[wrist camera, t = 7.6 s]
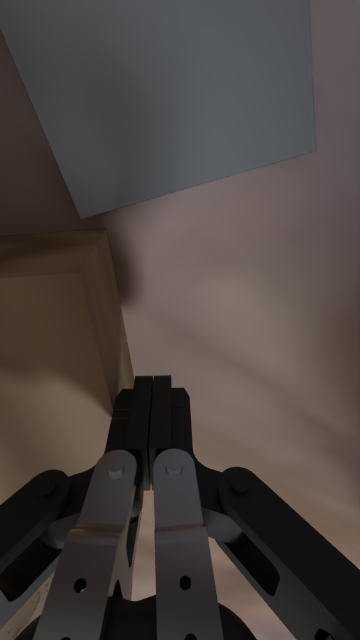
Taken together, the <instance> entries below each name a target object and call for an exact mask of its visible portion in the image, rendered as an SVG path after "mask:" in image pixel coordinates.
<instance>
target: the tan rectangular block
mask: <svg viewBox="0 0 360 640" xmlns="http://www.w3.org/2000/svg"><path fill="white" fill-rule="evenodd" d="M134 381H135V380H134V375H133V369H132V364H131V359H130V353H129V348H128V342H127V337H126V332H125V326H124V321H123V315H122V310H121V305H120V299H119V294H118V288H117V283H116V278H115V272H114V267H113V261H112V256H111V250H110V245H109V240H108V234H107V229H106V228H101V229H88V230H74V231H61V232H48V233H34V234H21V235H7V236H0V505H1V504H2V503H3V502H5V501H6V500H7V499H8V498H9V497H11V496H12V495H13V494H14V493H15V492H17V491H18V490H19V489H20V488H22V487H23V486H24V485H25V484H26V483H28V482H29V481H30V480H31V479H33V478H34V477H35V476H36V475H38V474H40V473H41V472H44V471H47V470H52V469H55V470H61V471H63V472H64V473H66V475H67V476H71V475H74V474H78V473H81V472H84V471H86V470H88V469H90V468H92V467H93V466H95V465H96V463H97V461H98V460H99V459H100V458H101V457H102V456H103V454H104V451H105V447H106V442H107V437H108V432H109V428H110V423H111V419H112V413H113V408H114V403H115V398H116V397H117V395H118V394H119V393H120V392H121V390H122V389H133V388H134Z"/></svg>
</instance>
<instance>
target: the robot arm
mask: <svg viewBox="0 0 360 640" xmlns="http://www.w3.org/2000/svg"><path fill="white" fill-rule="evenodd" d="M151 484H152V490H154V514H155V573H156V595H154V596H151V597H148V598H145V599H142V600H140V601H131V595H132V576H133V567H134V561H135V554H136V547H137V541H138V534H139V528H140V521H141V515H142V505H143V493H144V491H148V490H150V485H151ZM208 537H211V538H214V539H215V540H216V542H217V544H218V545H219V547H220V548H221V549H222V550H223V551H224V553H225V554H226V555H227V556H228V557H229V559H230V560H231V561H232V562H233V563H234V565H235V566H236V567H237V568H238V569H239V571H240V572H241V573H242V574H243V575H244V577H245V578H246V579H247V580H248V581H249V583H250V584H251V585H252V586H253V588H254V589H255V590H256V591H257V592H258V594H259V595H260V596H261V597H262V598H263V600H264V601H265V602H266V603H267V604H268V606H269V607H270V608H271V609H272V610H273V612H274V613H275V614H276V615H277V616H278V618H279V619H280V620H281V621H282V622H283V624H284V625H285V626H286V627H287V629H288V630H289V631H290V632H291V633H292V635H293V636H294V637H295V638H296V639H297V640H360V570H359V569H358V568H357V567H356V566H355V565H354V564H353V563H352V562H351V561H349V560H348V559H347V558H346V557H345V556H344V555H343V554H342V553H341V552H340V551H338V550H337V549H336V548H335V547H334V546H333V545H332V544H331V543H330V542H329V541H327V540H326V539H325V538H324V537H323V536H322V535H321V534H320V533H319V532H318V531H316V530H315V529H314V528H313V527H312V526H311V525H310V524H309V523H308V522H307V521H305V520H304V519H303V518H302V517H301V516H300V515H299V514H298V513H297V512H296V511H294V510H293V509H292V508H291V507H290V506H289V505H288V504H287V503H286V502H285V501H283V500H282V499H281V498H280V497H279V496H278V495H277V494H276V493H275V492H274V491H273V490H271V489H270V488H269V487H268V486H267V485H266V484H265V483H264V482H263V481H262V480H260V479H259V478H258V477H257V476H256V475H255V474H254V473H253V472H251V471H250V470H248V469H245V468H242V467H231V468H228V469H226V470H225V471H223V472H219V471H216V470H213V469H210V468H207V467H205V466H204V465H202V464H201V463H200V462H199V461H198V460H197V459H196V457H195V455H194V453H193V446H192V429H191V413H190V397H189V395H188V394H187V392H186V390H185V389H184V388H172V387H171V375H167V376H154V382H153V376H135V381H134V388H133V389H122V390H121V392H120V393H119V394H118V395H117V397H116V398H115V403H114V408H113V413H112V419H111V423H110V428H109V432H108V437H107V442H106V447H105V451H104V454H103V456H102V457H101V458H100V459H99V460H98V461H97V463H96V465H95V466H93V467H92V468H90V469H88V470H86V471H84V472H81V473H78V474H74V475H71V476H67V475H66V473H64V472H63V471H61V470H55V469H52V470H47V471H44V472H41V473H40V474H38V475H36V476H35V477H34V478H33V479H31V480H30V481H29V482H28V483H26V484H25V485H24V486H23V487H22V488H20V489H19V490H18V491H17V492H15V493H14V494H13V495H12V496H11V497H9V498H8V499H7V500H6V501H5V502H3V503H2V504H1V505H0V630H1V629H2V628H3V627H4V625H5V624H6V623H7V622H8V621H9V620H10V619H11V618H12V617H13V616H14V615H15V614H16V612H17V611H18V610H19V609H20V608H21V607H22V606H23V605H24V604H25V603H26V602H27V600H28V599H29V598H30V597H31V596H32V595H33V594H34V593H35V592H36V591H37V590H38V589H39V587H40V586H41V585H42V584H43V583H44V582H45V581H46V580H47V579H48V578H49V577H50V575H51V574H52V573H53V572H54V571H55V573H54V576H53V579H52V582H51V585H50V588H49V591H48V594H47V598H46V601H45V604H44V607H43V610H42V613H41V615H39V616H38V617H37V618H36V619H34V620H33V621H32V622H31V623H30V624H29V625H28V626H27V627H25V628H24V629H23V630H22V631H21V633H20V634H19V635H18V636H17V637H16V638H15V639H14V640H257V639H256V638H255V636H254V635H253V633H252V632H251V631H250V629H249V628H248V627H247V625H246V624H245V623H244V622H243V621H242V620H241V619H240V618H239V617H238V616H237V615H236V614H235V613H234V612H232V611H231V610H230V609H228V608H227V607H225V606H224V605H222V604H220V603H218V599H217V593H216V586H215V580H214V573H213V567H212V560H211V554H210V547H209V541H208Z"/></svg>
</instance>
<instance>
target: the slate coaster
mask: <svg viewBox="0 0 360 640" xmlns="http://www.w3.org/2000/svg"><path fill="white" fill-rule="evenodd" d="M0 29H1V32H2V34H3V36H4V39H5V41H6V44H7V46H8V48H9V51H10V53H11V55H12V58H13V60H14V62H15V65H16V67H17V70H18V72H19V74H20V77H21V79H22V81H23V84H24V86H25V89H26V91H27V93H28V96H29V98H30V100H31V103H32V105H33V107H34V110H35V112H36V115H37V117H38V119H39V122H40V124H41V126H42V129H43V131H44V133H45V136H46V138H47V141H48V143H49V145H50V148H51V150H52V152H53V155H54V157H55V159H56V162H57V164H58V167H59V169H60V171H61V174H62V176H63V178H64V181H65V183H66V185H67V188H68V190H69V193H70V195H71V197H72V200H73V202H74V204H75V207H76V209H77V211H78V214H79V216H80V219H83V218H87V217H90V216H94V215H97V214H100V213H104V212H107V211H111V210H114V209H118V208H121V207H125V206H128V205H131V204H135V203H138V202H142V201H145V200H149V199H152V198H156V197H159V196H162V195H166V194H169V193H173V192H176V191H180V190H183V189H187V188H190V187H193V186H197V185H200V184H204V183H207V182H211V181H214V180H218V179H221V178H224V177H228V176H231V175H235V174H238V173H242V172H245V171H249V170H252V169H255V168H259V167H262V166H266V165H269V164H273V163H276V162H280V161H283V160H286V159H290V158H293V157H297V156H300V155H304V154H307V153H311V152H314V151H316V140H315V119H314V99H313V78H312V58H311V37H310V16H309V0H0Z"/></svg>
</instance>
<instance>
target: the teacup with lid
mask: <svg viewBox="0 0 360 640" xmlns="http://www.w3.org/2000/svg"><path fill="white" fill-rule="evenodd" d="M54 573H55V571H54V572H53V573H52V574H51V575H50V577H49V578H48V579H47V580H46V581H45V582H44V583H43V584H42V585H41V586H40V587H39V589H38V590H37V591H36V592H35V593H34V594H33V595H32V596H31V597H30V598H29V599H28V600H27V602H26V603H25V604H24V605H23V606H22V607H21V608H20V609H19V610H18V611H17V612H16V614H15V615H14V616H13V617H12V618H11V619H10V620H9V621H8V622H7V623H6V624H5V625H4V627H3V628H2V629H1V630H0V640H14V639H15V638H16V637H17V636H18V635H19V634H20V633H21V631H22V630H23V629H24V628H25V627H27V626H28V625H29V624H30V623H31V622H32V621H33V620H34V619H36V618H37V617H38V616H39V615H41V613H42V610H43V607H44V604H45V601H46V598H47V594H48V591H49V588H50V585H51V582H52V579H53V576H54Z"/></svg>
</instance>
